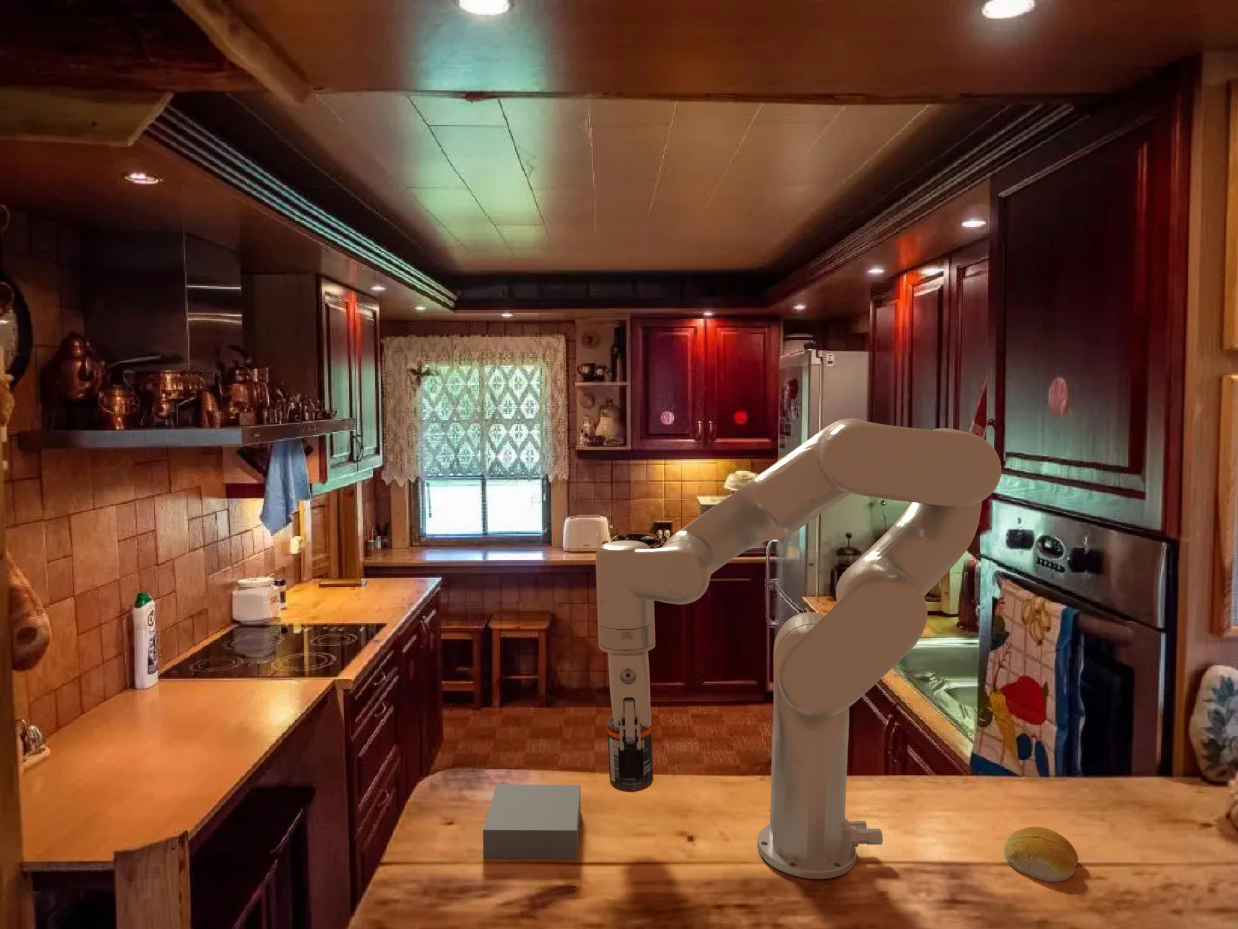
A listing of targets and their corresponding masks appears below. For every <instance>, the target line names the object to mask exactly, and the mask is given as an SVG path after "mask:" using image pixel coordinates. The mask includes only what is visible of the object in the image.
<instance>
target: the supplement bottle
mask: <svg viewBox="0 0 1238 929" xmlns="http://www.w3.org/2000/svg"><path fill="white" fill-rule="evenodd" d="M624 708H625V704H624ZM634 722H635V725H636V724H637V720H634ZM622 725H625V720H622ZM640 726H641V728H640V732H641V747H643V768H644V776H643V778H638V779H620V777H619V758H618V748H620V731H619V729H618V728H617V727H615V726H614V719H613V715H611V716H610V717H609V718H608V720H607V724H606V727H607V729H606V730H607V731H606V732H607V747H608V748H607V750H608V753H607V754H608V770H609V771H608V774H609V776H608V777H609V783H610V785H611V787H613V788H614V789H616V790H617V791H620V792H625V793H636V792H641V791H644V790H645V789H648V788H650V787H651V786H652V784H653V782H654V764H653V763H654V761H653V760H654V759H653V742H652V740H653V734H652V724H651V725H650V726H649V727H648V728H647V727H646V726H642V725H641V723H640ZM623 734H624V735H626V734H625V730H623ZM635 734H636V735H637V732H636V730H635Z"/></svg>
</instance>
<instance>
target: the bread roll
mask: <svg viewBox="0 0 1238 929" xmlns="http://www.w3.org/2000/svg"><path fill="white" fill-rule="evenodd" d="M1003 852H1004V857H1005V858H1006V860H1007V863H1009V865H1010V866H1011V867H1012V868H1014V869H1015V870H1016V871H1018V872H1019V873H1022V874H1024V875H1026V876H1030V877H1032V878H1034V879H1036V880H1041V881H1045V882H1049V883H1059V882H1063V881H1066V880H1069V879H1070V878H1071V877H1072V876H1073V875H1074V874H1075V872H1076V866H1077V864H1078V863H1079V856H1078V853H1077V851H1076V849H1075V848H1074V846H1073V845H1072V843H1071V842H1070V841H1069V840H1068V839H1067V838H1066V837H1065V836H1063V835H1062V834H1060V833H1059V832H1056V831H1055V830H1052V829H1049V828H1046V827H1042V826H1028V827H1023V828H1022V829H1018V830H1016V831H1014V832H1012V834H1011V835H1010V836H1009V837H1008V838H1007V839H1006V841H1005V844H1004V850H1003Z"/></svg>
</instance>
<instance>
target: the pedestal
mask: <svg viewBox="0 0 1238 929" xmlns="http://www.w3.org/2000/svg"><path fill="white" fill-rule="evenodd" d="M581 789H582V788H581V784H510V783H509V784H503V783H502V784H500V783H499V784H495V787H494V792H493V795H492V797H491V801H490V804H489V808H488V812H487V815H486V819H485V822H484V825H483V828H482V860H485V859H487V861H488V860H490V859H493V861H494V860H495V861H497V860H501V861H502V860H503V861H504V860H507V861H509V860H512V861H514V860H515V861H521V860H523V861H524V860H527V861H545V860H546V861H577V859H578V848H579V835H580V822H581V804H582V802H581V793H582V792H581ZM490 861H491V860H490Z"/></svg>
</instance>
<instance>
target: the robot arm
mask: <svg viewBox="0 0 1238 929" xmlns="http://www.w3.org/2000/svg"><path fill="white" fill-rule="evenodd" d="M1001 476H1002V463H1001V459H1000V457H999V455H998V452H997V451H996V450H995V448H994V447H993V445H992V444H991V443H989V441H988V440H986V439H984V438H983V437H982V436H980V435H977V434H974V433H971V432H966V431H963V430H960V429H955V428H947V427H945V428H944V427H943V428H934V429H925V428H916V427H914V428H913V427H907V426H899V425H898V426H897V425H890V424H889V425H888V424H883V423H876V422H872V421H871V422H870V421H867V420H863V419H861V418H855V417H849V418H848V417H847V418H842V419H838V420H837V421H834V422H832V423H831V424H829V425H827V426H826V427H824V428H822V429H821V430H820V431H819V432H817V433H816V434H814V435H812V437H810V438H809V439H807V440H805V442H803V443H802V444H800V445H798V446H797V447H796V448H795V449H793V450H792V451H790V452H789V453H787V454H786V455H785V456H784V457H782V458H781V459H779V460H778V461H777V462H775V463H774V464H772V465H771V466H770V467H768V468H767V469H765V470H763V471H762V472H761V473H759V474H757V475H756V476H755V477H753V478H752V479H751V480H749V481H747V482H746V483H745V484H743V485H742V486H741V487H739V488H738V489H737V490H735V491H734V492H733V493H732V494H730V495H729V496H727V497H726V498H725V499H723V500H721V501H720V502H718V503H717V504H716V505H714V506H713V507H711V508H709V509H708V510H707V511H705V512H704V513H703V514H701V515H699V517H697V518H695V519H694V520H693V521H691V522H690V523H688V524H687V525H686V526H684V527H683V528H681V529H680V530H678V531H676V532H675V534H673V535H671V536H670V537H669V538H668V539H667V540H666V541H665V542H664V544H663V545H662V547H658V548H651V547H650V546H649V544H647V543H646V542H642V541H639V540H615V541H614V540H613V541H609V542H605V543H603V544H601V545H600V546H599V547H598V548H597V549H596V552H595V575H596V576H595V577H596V578H595V579H596V606H597V607H596V608H597V631H598V632H597V633H598V638H597V639H598V648H599V650H600V651H602V652H604V653H607V654H608V655H607V658H608V659H607V660H608V676H609V677H608V678H609V692H610V693H609V694H610V702H611V709H612V711H611V712H612V716H613V719H614V726H615V727H617V728H618V729H619V731H620V748H618V758H619V777H620V779H638V778H643V776H644V768H643V747H641V732H640V728H641V726H640V723H641V725H642V726H646V727H647V728H648V727H649V726H650V725H651V726H652V716H651V715H652V713H651V712H652V711H651V681H650V680H651V678H650V661H649V651H651V650H652V649H654V648H655V647H656V629H655V628H656V622H655V620H656V619H655V601H656V602H661V603H667V604H672V605H673V604H674V605H686V604H690V603H693V602H696V601H697V600H699V599H700V598H702V596H703V595H704V594H705V593H706V592H707V589H708V587H709V586H710V581H711V576H712V574H714V573H715V572H717V570H719V569H720V568H722V567H723V566H725V565H726V564H728V563H729V562H731V561H732V560H733V559H735V558H736V557H738V556H740V555H741V554H743V553H744V552H746V551H747V550H749V549H751V548H754V547H755V546H758V545H759V544H761V543H765V542H769V541H775V540H781V539H784V538H787V537H789V536H791V535H792V534H795V533H796V532H798V531H799V530H801V528H803V527H805V526H806V525H808V524H809V523H810V522H812V521H813V520H814V519H815V518H817V517H818V516H820V515H822V514H823V513H824V512H826V511H827V510H828V509H831V507H833V506H834V505H836V504H837V503H839V502H841V501H843V499H846V498H847V497H849V495H851V494H852V495H857V496H863V497H868V498H875V499H882V500H889V501H899V502H909V504H908V505H907V507H906V509H905V510H904V512H903V513H902V514H901V515H900V517H899V518H898V519H897V520H896V521H895V522H894V523H893V524H892V525H891V527H890V528H889V529H888V530H887V531H886V532H885V533H884V534H883V535H882V536H880V538H879V539H878V540H877V541H876V542H875V543H874V544H872V545H871V547H869V549H867V550H866V552H864V553H863V555H862V556H860V557H859V558H858V559H857V560H855V562H854V563H852V564H850V566H849V567H847V569H845V571H844V572H843V573H842V575H841V576H839V579H838V581H837V584H836V589H835V599H836V604H835V605H834V606H833V607H832V608H831V609H830V610H829V611H828V612H827V613H826V614H823V613H819V612H813V611H811V612H810V611H809V612H807V611H806V612H802V613H798V614H795V615H794V616H792V617H790V618H789V619H787V620H786V621H785V622H784V624H782V626H781V627H780V629H779V631H778V632H777V634H776V637H775V640H774V645H773V713H772V714H773V715H772V722H773V723H772V733H771V734H772V739H771V740H772V742H771V769H770V770H771V773H770V776H771V777H770V778H771V780H770V808H769V809H770V810H769V811H770V813H769V817H770V818H769V824H767V825H766V826H764V827H763V828H762V829H761V830H760V831H759V833H758V837H757V850H758V853H759V855H760V857H762V859H763V860H764V861H765V862H766V863H768V864H769V865H770V866H772V867H773V868H775V869H777V870H778V871H780V872H783V873H785V874H786V875H787V874H788V875H789V876H793V877H797V878H803V879H807V880H808V879H809V880H810V879H811V880H826V879H833V878H837V877H839V876H843V875H845V874H846V873H848V872H850V871H851V869H853V868H854V866H855V864H856V862H857V861H856V860H857V848H858V847H859V845H868V846H869V845H870V846H875V845H876V846H877V845H879V846H882V845H883V842H884V841H883V840H884V839H883V833H882V829H880V828H868V826H867V823H866V822H867V821H865V820H851V821H850V820H849V819H847V818H846V803H847V800H846V798H847V775H848V774H847V773H848V771H847V770H848V747H849V745H848V744H849V730H850V729H849V728H850V707H852V705H854V704H855V703H856V702H857V701H858V700H859V699H861V698H862V697H863V696H864V695H865V694H866V693H868V691H870V690H871V689H872V688H873V687H874V686H875V685H876V684H877V683H878V682H879V681H880V680H881V679H883V677H885V676H886V674H888V673H889V672H890V671H891V670H892V669H893V668H894V667H895V666H896V665H897V664H898V663H899V662H902V660H903V659H904V658H905V657H906V656H907V655H908V654H909V653H910V652H911V650H912V649H913V648H914V647H916V645H917V644H918V642H919V640H920V639H921V637H922V635H923V633H924V630H925V628H926V627H927V626H926V625H927V621H928V607H927V601H926V598H925V597H926V595H927V594H928V593H929V592H930V591H931V590H932V589H933V588H934V587H935V586H936V584H938V583H939V582H940V581H941V580H942V578H944V576H946V574H947V573H948V572H950V570H951V569H952V568H953V567H954V566H955V565H956V564H957V562H959V560H960V559H961V558H962V557H963V556H964V554H965V553H966V552H967V550H968V549H969V547H970V546H971V544H972V542H973V540H974V538H975V536H976V533H977V530H978V527H979V522H980V519H981V512H982V504H983V503H982V502H983V501H984V500H986V499H988V497H990V496H991V495H992V494H993V493H994V491H995V490H996V489H997V487H998V485H999V483H1000V479H1001ZM624 704H625V708H624ZM622 720H625V725H622ZM634 720H637V724H636V725H635V722H634ZM623 730H625V734H626V735H624V734H623ZM635 730H636V732H637V735H636V734H635Z"/></svg>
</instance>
